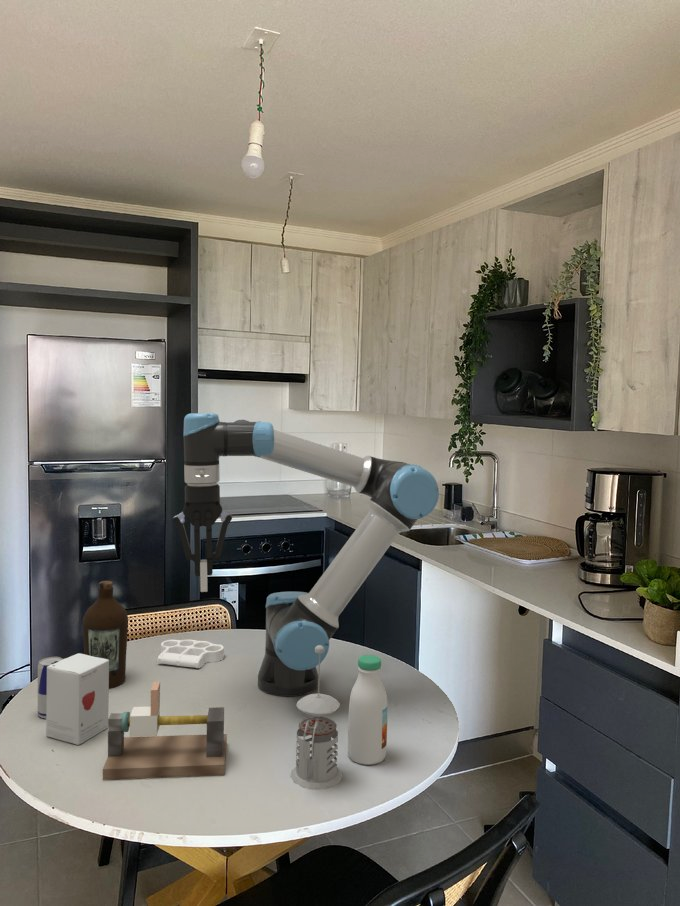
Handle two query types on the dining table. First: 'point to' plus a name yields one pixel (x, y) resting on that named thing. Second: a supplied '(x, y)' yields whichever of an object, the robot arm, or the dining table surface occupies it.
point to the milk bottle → (368, 714)
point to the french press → (317, 741)
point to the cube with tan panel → (146, 716)
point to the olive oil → (107, 632)
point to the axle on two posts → (166, 749)
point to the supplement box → (77, 698)
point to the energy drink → (44, 683)
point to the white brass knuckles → (189, 653)
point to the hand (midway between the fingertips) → (204, 589)
